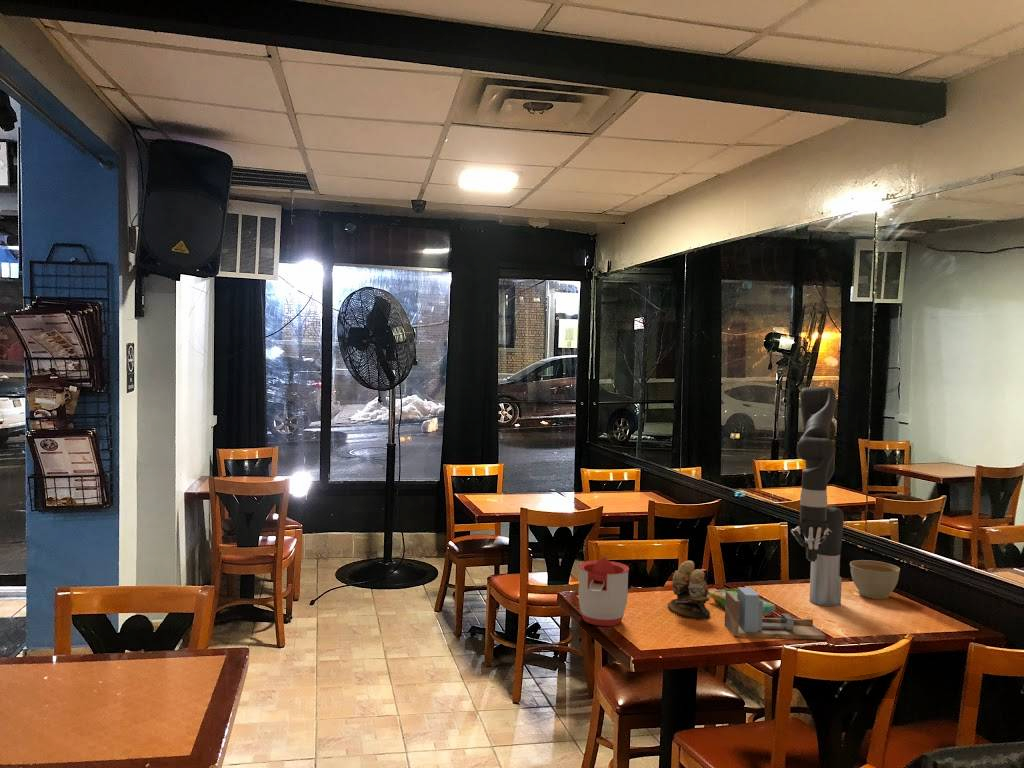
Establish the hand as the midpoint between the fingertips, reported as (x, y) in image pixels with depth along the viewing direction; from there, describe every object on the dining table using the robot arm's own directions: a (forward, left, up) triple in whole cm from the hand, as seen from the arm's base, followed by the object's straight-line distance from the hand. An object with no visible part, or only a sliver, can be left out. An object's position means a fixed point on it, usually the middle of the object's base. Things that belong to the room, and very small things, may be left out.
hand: (811, 560), depth 228 cm
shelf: (+10, 0, -22) cm, 24 cm away
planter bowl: (-40, -42, -22) cm, 62 cm away
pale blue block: (+19, 0, -21) cm, 28 cm away
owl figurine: (+32, -17, -22) cm, 43 cm away
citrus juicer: (+62, -5, -22) cm, 66 cm away
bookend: (+11, 0, -21) cm, 23 cm away
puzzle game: (+14, -22, -22) cm, 34 cm away
